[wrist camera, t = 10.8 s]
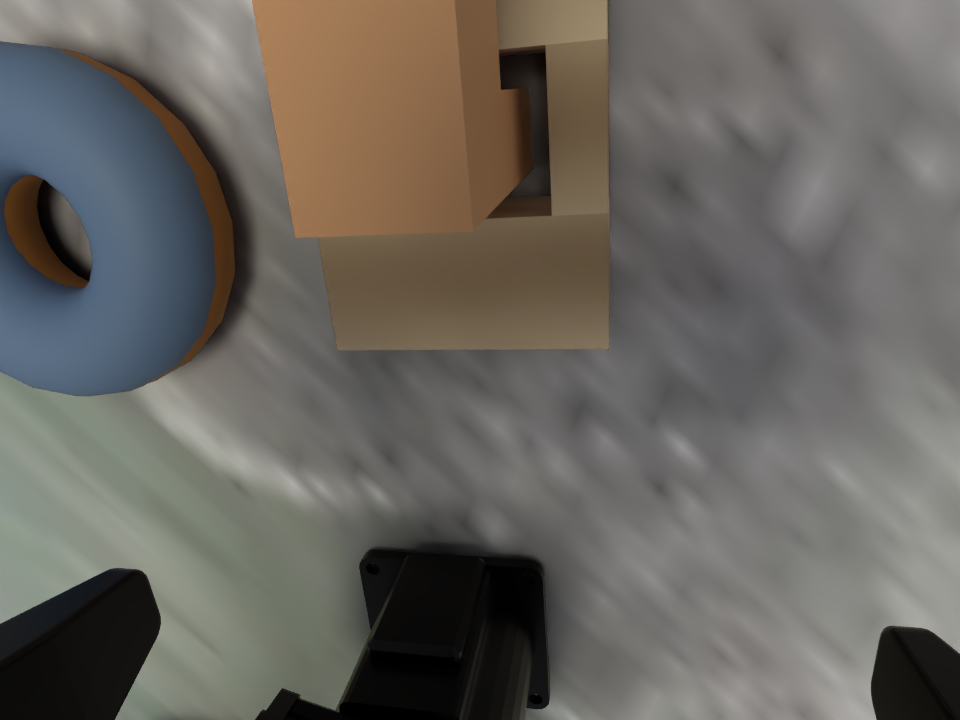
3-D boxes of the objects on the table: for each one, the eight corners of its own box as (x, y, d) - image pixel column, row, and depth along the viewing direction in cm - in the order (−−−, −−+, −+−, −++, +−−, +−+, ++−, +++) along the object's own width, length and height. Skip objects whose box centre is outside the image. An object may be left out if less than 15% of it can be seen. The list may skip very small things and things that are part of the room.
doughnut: (-55, -15, 18) (-235, -16, 14) (283, 105, 18) (194, 137, 14) (-19, 291, 23) (-145, 352, 20) (245, 385, 24) (172, 464, 20)
